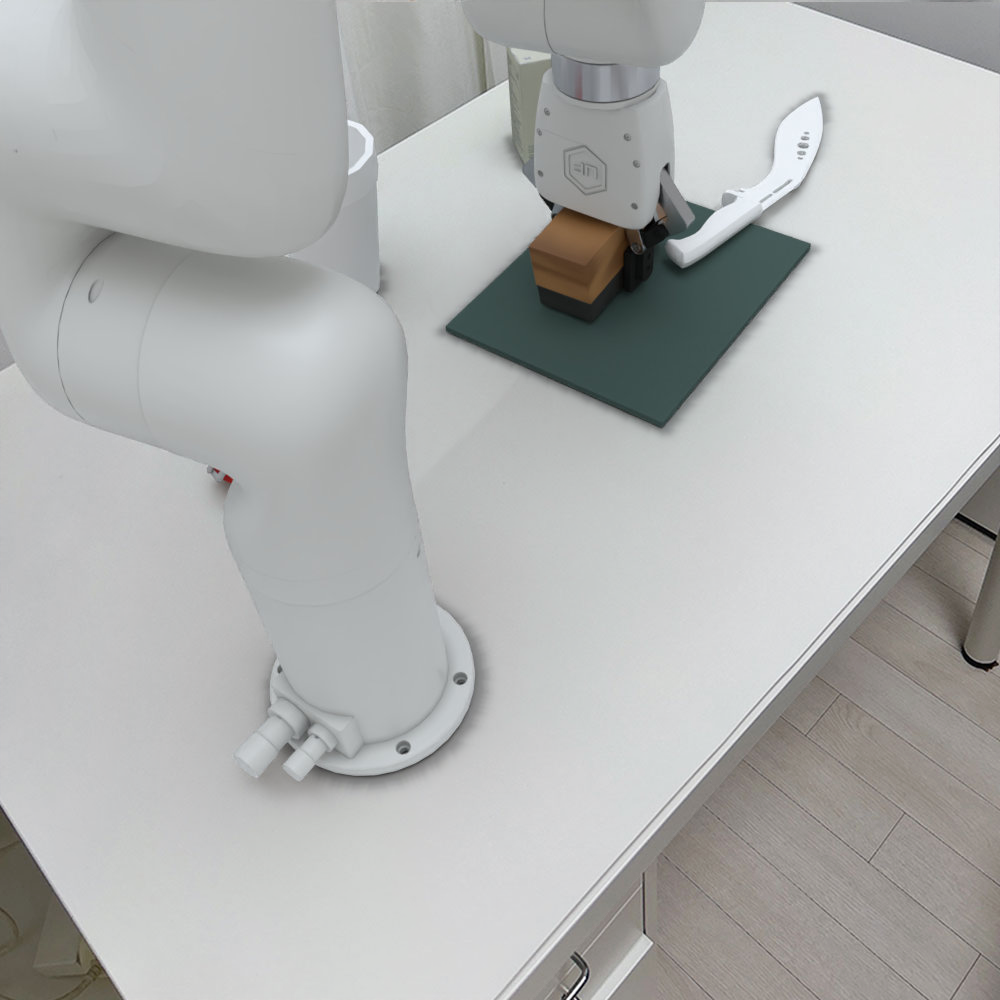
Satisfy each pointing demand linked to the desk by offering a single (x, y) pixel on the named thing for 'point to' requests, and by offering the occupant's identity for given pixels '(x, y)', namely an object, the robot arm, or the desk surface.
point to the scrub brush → (579, 262)
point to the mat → (637, 321)
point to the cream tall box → (525, 95)
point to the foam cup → (353, 218)
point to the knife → (758, 186)
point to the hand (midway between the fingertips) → (605, 268)
